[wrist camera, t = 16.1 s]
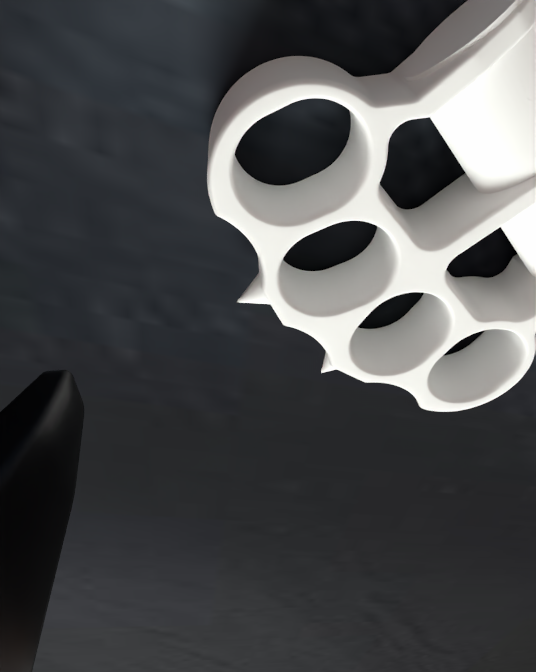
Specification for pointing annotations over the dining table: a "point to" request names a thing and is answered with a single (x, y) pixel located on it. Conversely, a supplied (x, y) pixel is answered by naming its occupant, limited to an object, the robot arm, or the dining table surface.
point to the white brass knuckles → (404, 224)
